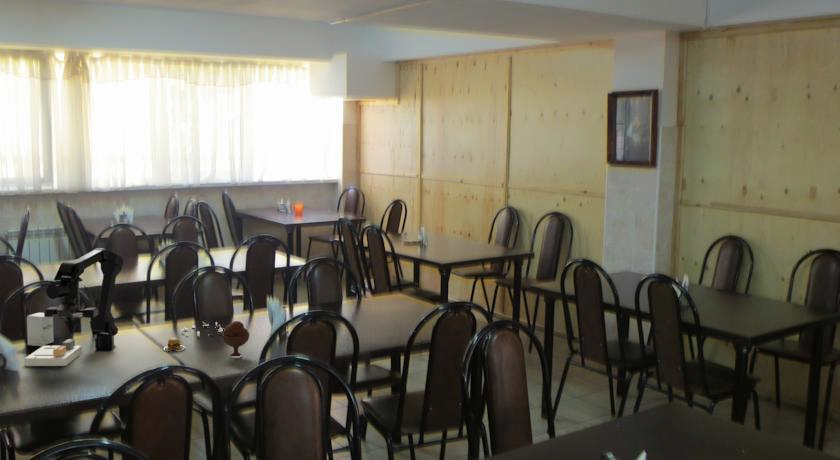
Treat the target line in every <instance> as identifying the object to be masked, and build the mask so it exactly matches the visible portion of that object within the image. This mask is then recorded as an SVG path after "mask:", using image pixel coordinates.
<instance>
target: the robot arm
mask: <svg viewBox="0 0 840 460" xmlns="http://www.w3.org/2000/svg"><path fill="white" fill-rule="evenodd" d="M96 263H99V264H100V271H101V273H102V282H101V288H100V293H99V298H98V299H99V300H98V307H87V308H85V309H81V305H80V299H81V295H80V282H83V278H81V277H80V276H81V275H83V274H85V270H86V269H88V268H89V267H91V266H93V265H94V264H96ZM123 265H124V259H123V258H122V256H121V255H118V254H117V253H115V252H112V251H110V250H108V249H107V248H103V247H102V248H101V247H96V248H94V249H93V250H91V251H89V252H88V253H85V254H84V255H83V256H79V258H77V259H72V260H66V261H63V262H62V263H60V266H59V268H58V270H57V272H56V274H55V276H54V279H53V280H51V281H50V284H49V285H47V287H46V289H45V294H46V296H47V297H48V298H49V299H50V300H55V299H60V298H61V302H60V304H59V305H58V306H50V307H47V308H46V309H44V312H43V313H44V316H45V317H52V316H53V317H54V316H55V315H57V317H58V318H59V319H60V320H62V321H63V322H64V323H65V325H66V326H67V329H68V331H69V334H70V335H74V334H75V331H76V328H77V326H78V323H79V322H80V320H81V318H83V317H84V318H87V319H89V318H90V321H89V325H90V329H91V332H92V335H95V336H96V337H95V339H94V347H95V349H94V351H97V352H98V351H101V352H102V351H103V352H104V351H106V352H107V351H110V352H111V351H113V349H114V348H116V345H115V336H117V335H118V333H119V328H118V327H117V326H116V325H115V324H114V316H113V314H112V311H111V310H112V306H113V305H112V304H113V298H114V293H115V287H116V286H115V285H116V280H117V277H118V275H119V274H120V273H121V272H122V269H123Z"/></svg>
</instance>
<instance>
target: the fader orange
mask: <svg viewBox="0 0 840 460" xmlns="http://www.w3.org/2000/svg"><path fill="white" fill-rule="evenodd" d="M56 346H57V347H56V348H55V349H53V356H62V355H64V354H65V353H66V346H62V345H56Z"/></svg>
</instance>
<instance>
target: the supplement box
mask: <svg viewBox="0 0 840 460" xmlns="http://www.w3.org/2000/svg"><path fill="white" fill-rule="evenodd" d="M26 331H27V333H26V334H27V346H36V347H42V346H47V345H48V344H51V343H54V316H52V317H45V316H44V312H36V313H32V314H29V315H27V316H26Z"/></svg>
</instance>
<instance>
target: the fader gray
mask: <svg viewBox="0 0 840 460" xmlns="http://www.w3.org/2000/svg"><path fill="white" fill-rule="evenodd" d="M75 341H76V340H75V339H72V338H69V339H67V338H66V340H64V341H62V345H61V346H66V349H71V348H72V347H74V346H76V345H75V343H76V342H75Z"/></svg>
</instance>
